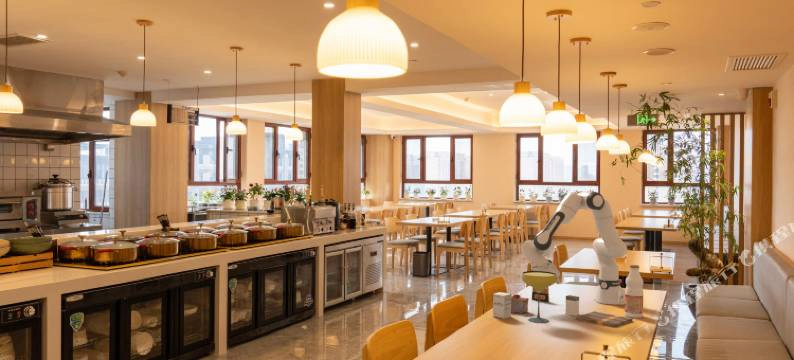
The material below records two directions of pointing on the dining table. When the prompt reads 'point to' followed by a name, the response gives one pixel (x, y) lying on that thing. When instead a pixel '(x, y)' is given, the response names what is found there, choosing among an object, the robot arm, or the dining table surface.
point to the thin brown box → (541, 295)
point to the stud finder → (572, 305)
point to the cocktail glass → (539, 286)
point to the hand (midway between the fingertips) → (554, 284)
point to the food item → (519, 304)
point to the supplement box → (501, 305)
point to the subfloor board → (604, 319)
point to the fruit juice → (634, 293)
